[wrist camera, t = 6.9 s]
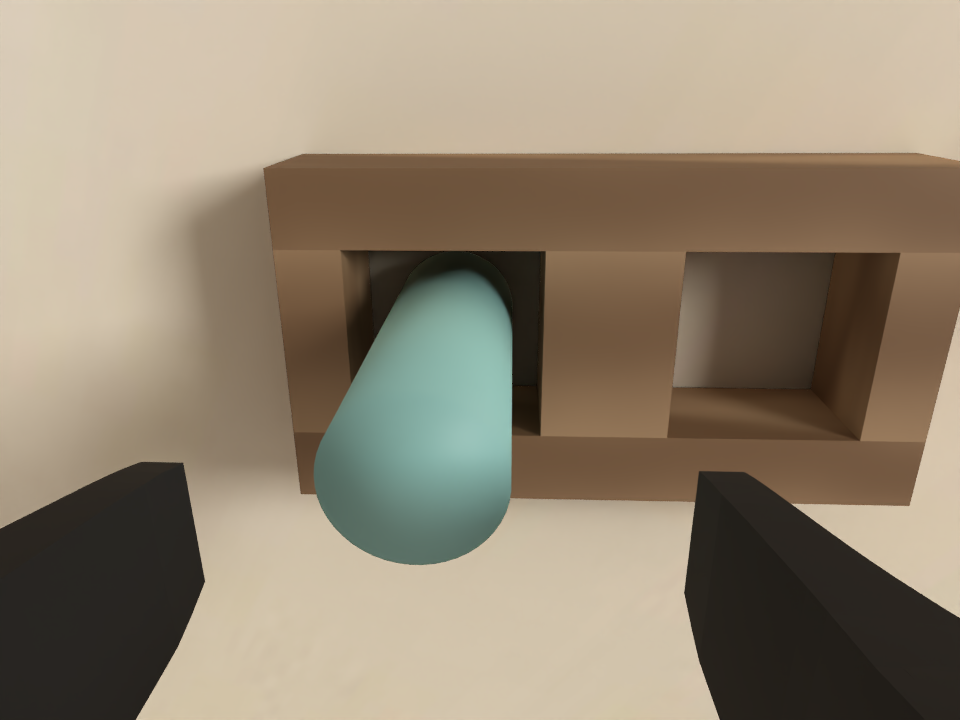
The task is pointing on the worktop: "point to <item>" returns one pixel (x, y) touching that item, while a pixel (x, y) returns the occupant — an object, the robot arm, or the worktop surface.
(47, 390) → the worktop surface
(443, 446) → the peg
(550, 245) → the hole block
